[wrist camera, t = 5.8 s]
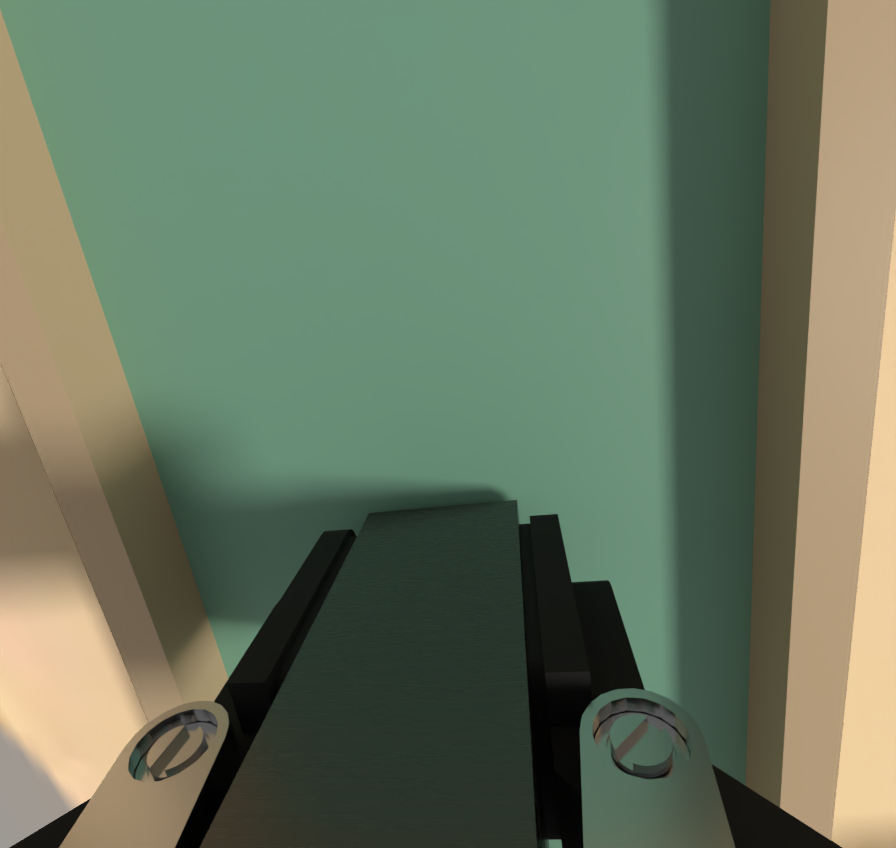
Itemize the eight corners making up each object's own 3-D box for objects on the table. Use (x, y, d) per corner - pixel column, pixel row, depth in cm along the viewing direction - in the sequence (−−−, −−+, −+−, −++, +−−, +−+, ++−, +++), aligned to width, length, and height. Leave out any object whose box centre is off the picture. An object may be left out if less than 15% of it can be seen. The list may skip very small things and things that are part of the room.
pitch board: (13, -39, 10) (-222, -178, 7) (786, -246, 8) (975, -574, 5) (305, 856, 18) (260, 995, 14) (747, 858, 16) (812, 1020, 12)
